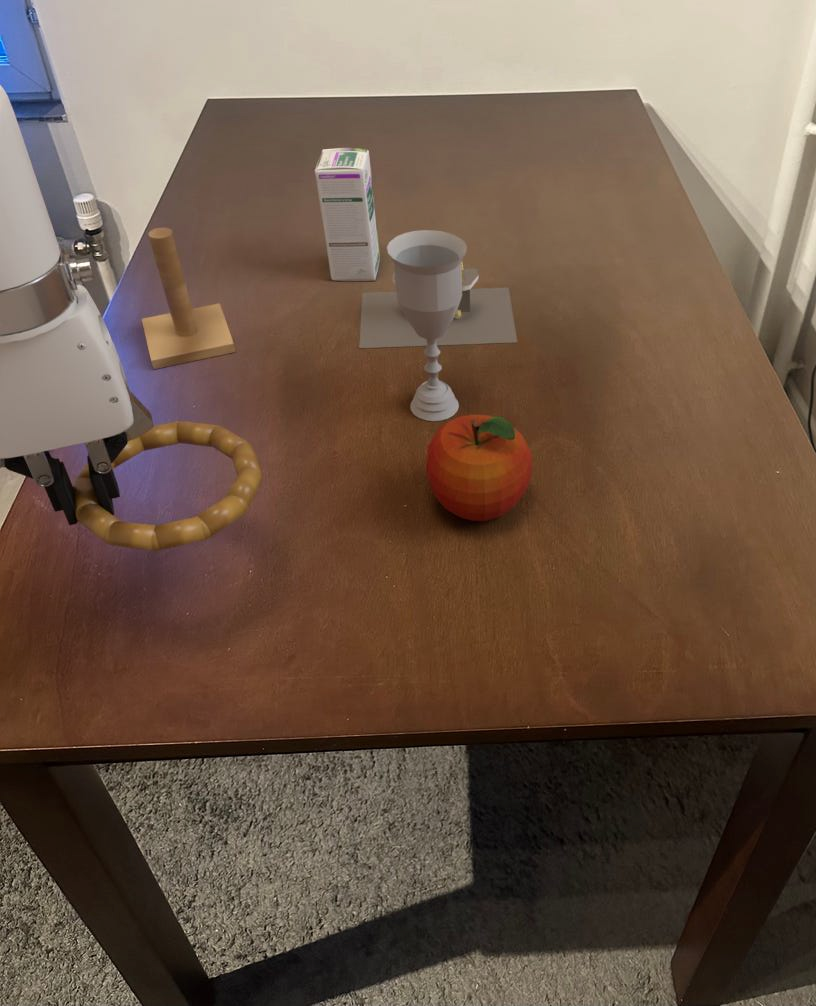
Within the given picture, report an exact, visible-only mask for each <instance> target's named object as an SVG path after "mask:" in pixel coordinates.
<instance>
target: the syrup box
mask: <svg viewBox="0 0 816 1006" xmlns="http://www.w3.org/2000/svg"><path fill="white" fill-rule="evenodd" d="M370 159H371V158H370V151H369V150H368V149H367V148H355V147H337V148H327V149H325V148H323V149H322V150H321V154H320V156H319V158H318V159H317V162H316V166H315V169H314V175H315V181H316V188H317V189H316V190H317V195H318V202H319V209H320V216H321V223H322V230H323V236H324V242H325V248H326V255H327V261H328V268H329V274H330V280H331V281H337V282H338V281H339V282H374V281H376V279H377V274H378V271H379V266H380V263H381V262H380V261H381V249H380V242H379V241H380V240H379V233H378V232H379V231H378V224H377V222H378V221H377V215H376V214H377V212H376V206H375V204H376V203H375V196H374V195H375V194H374V187H373V185H374V184H373V177H372V169H371V168H372V167H371V160H370Z"/></svg>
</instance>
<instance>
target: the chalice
mask: <svg viewBox="0 0 816 1006" xmlns="http://www.w3.org/2000/svg"><path fill="white" fill-rule="evenodd" d="M386 251H387V254H388V255H389V257H390V258H391V260H392V262H393V267H394V269H393V270H394V271H395V282H396V284H395V291H396V295H397V300H398V302H399V304H400V306H401V308H402V310H403V313H404V315H405V316H406V318H407V320H408V321H409V323H410V324H411V326H412V327H413V329H414V330H415V332H416V333H417V334H418V336H420V337H421V338H424V339H426V340H427V345H426V346H425V349H424V350H423V355H424V356H425V357H426V359H427V362H426V364H425V365H424V366H423V370H424V371H425V372H427V375H428V377H427V380H426V381H424V382H423V383H421V384H420V385H418V387H417V389H416V391H415V393H414V396H413V398H412V400H411V402H410V405H409V406H410V411H411V413H412V414H413V415H414V416H415V417H417V418H418V419H420V420H423V421H427V422H428V421H429V422H439V421H445V420H447V419H450V418H451V417H453V416H455V415H456V414H457V412H458V410H459V407H460V404H459V400H458V399H457V398H456V395H455V394H454V392H453V391H452V388H451V387H450V385H449V384H447V382H445V381H443V380H439V373H440V371H441V370H442V369H443V368H442V364H440V363H439V362H438V361H439V360H438V358H439V356H440V355H441V350H440V349H439V348H438V345H437V344H436V340H437V339H438V338H440V337H442V336H444V335H445V333H446V331H447V329H448V328H449V326H450V324H451V322H452V320H453V319H454V317H455V314H456V312H457V309H458V306H459V303H460V301H461V298H462V262H463V259H464V257H465V256H466V254H467V251H468V247H467V244H466V242H465V241H464V240H463V239H462V238H461V237H459V236H457V235H455V234H453V233H450V232H446V231H442V230H434V229H423V230H422V229H421V230H413V231H407V232H404V233H402V234H399V235H396V236H395V237H394V238H393V239H392V240H390V241H389V242H388V244H387V246H386Z"/></svg>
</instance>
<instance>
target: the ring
mask: <svg viewBox="0 0 816 1006" xmlns="http://www.w3.org/2000/svg"><path fill="white" fill-rule="evenodd" d="M178 444H181V445H182V444H185V445H192V446H202V447H208V448H209V447H210V448H213V449H215V450H216V451H219V452H220V453H221V454H223V455H224V456H226V457H228V458H229V459H231V460H232V463H233V466H234V470H235V473H236V477H235V479H234V481H233V483H232V485H231V487H230V489H229V490H228V493H226V496H224V497H222V499H220V500H218V501H217V502H215V503H214V504H213V505H211V506H209V507H208V508H206V509H205V510H203V511H201V512H200V513H199V514H198V515H196V516H190V517H186V518H183V519H178V520H174V521H170V522H166V523H160V524H147V523H139V522H132V521H125V520H124V521H122V520H120V519H119V518H117V517H116V516H115V515H112V514H110V513H109V512H107V511H106V510H105V509H103V508H102V507H101V506H100V504H99V502H98V499H97V497H96V494H95V491H94V489H93V486H92V484H91V481H90V476H89V468H88V462H87V463H86V464H85V465H84V467H83V468H82V470H81V471H80V472H79V474H78V475H77V477H76V478H75V480H74V481H73V483H72V486H73V491H74V501H75V512H76V518H77V520H78V523H80V524H81V525H82V526H84V527H85V528H86V529H87V530H88V531H90V532H91V533H93V534H94V535H95V536H97V537H98V538H99V539H101V540H102V541H103V542H104V543H106V544H108V545H110V546H113V547H123V548H129V549H136V550H137V549H138V550H145V551H154V552H160V551H164V550H167V549H172V548H176V547H180V546H184V545H189V544H193V543H197V542H201V541H204V540H208V539H209V538H211V537H212V536H214V535H216V534H217V533H218V532H220V531H222V530H223V529H225V528H226V527H227V526H229V525H230V524H232V523H233V522H234V521H236V520H237V519H239V518H240V517H241V516H242V517H243V515H245V514H246V512H247V511H248V509H249V508H250V506H251V503H252V501H253V499H254V498H255V496H256V493H257V491H258V489H259V488H260V485H261V483H262V481H263V473H262V470H261V468H260V464H259V460H258V458H257V455H256V453H255V450H254V447H253V445H252V444H251V443H250V442H249V441H246V440H245V439H244V438H241V437H240V436H238V435H237V434H235V433H234V432H232V431H230V430H229V429H227V428H225V427H223V426H221V425H219V424H210V423H202V422H192V421H184V420H176V421H171V422H165V423H161V424H156V425H153V428H152V429H151V430H149V431H148V432H146V433H144V434H142V435H141V436H139V437H137V438H136V439H134V440H130V441H128V443H127V445H126V446H125V447H124V449H123V450H122V451H121V453H120V454H119V455H118V456H117V458H116V459H115V460H114V462H113V463H112V469H113V470H114V469H115V468H117V467H119V466H121V465H122V464H124V463H125V462H127V461H129V460H131V459H133V458H134V457H136V456H138V455H139V454H141V453H143V452H145V451H150V450H154V449H160V448H165V447H169V446H173V445H174V446H175V445H178Z"/></svg>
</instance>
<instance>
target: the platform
mask: <svg viewBox="0 0 816 1006" xmlns="http://www.w3.org/2000/svg"><path fill="white" fill-rule="evenodd" d="M463 263H464V262H463V261H462V298H461V301H460V303H459V306H458V309H457V312H456V314H455V317H454V319H453V320H452V322H451V324H450V326H449V328H448V329H447V331H446V333H445V335H444V336H442V337H440V338H438V339H437V340H436V344H437V346H459V345H484V344H485V345H486V344H487V345H488V344H512V343H518V337H517V330H516V325H515V319H514V318H515V317H514V311H513V307H512V300H511V294H510V288H509V287H484V288H483V287H482V288H481V287H480V288H479V287H478V288H473V287H474V286H475V284H476V283H478V281H479V276H480V275H479V269H477V268H464V264H463ZM391 280H392V283H393V284H394V285H396V282H395V270H394V271H393V272H392V273H391ZM359 324H360V325H359V341H358V343H359V344H358V349H376V348H378V349H379V348H404V347H406V348H407V347H426V345H427V340H426V339H424V338H421V337H420V336H418V334H417V333H416V332H415V330H414V329H413V327H412V326H411V324H410V323H409V321H408V320H407V318H406V316H405V315H404V313H403V310H402V308H401V306H400V304H399V302H398V300H397V295H396V290H394V291H393V290H392V291H365V292H362V293H361V307H360V323H359Z"/></svg>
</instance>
